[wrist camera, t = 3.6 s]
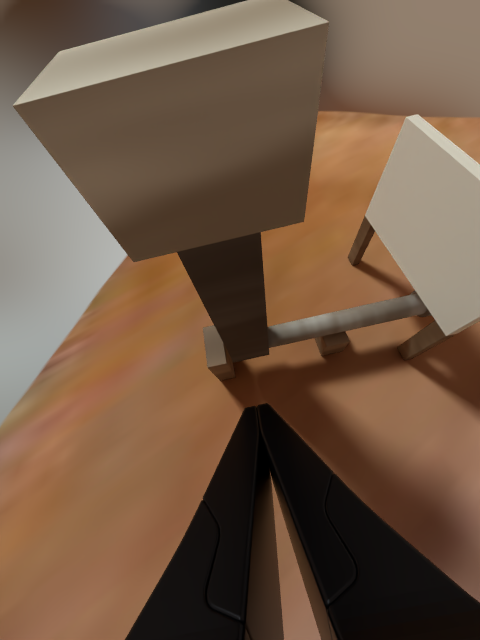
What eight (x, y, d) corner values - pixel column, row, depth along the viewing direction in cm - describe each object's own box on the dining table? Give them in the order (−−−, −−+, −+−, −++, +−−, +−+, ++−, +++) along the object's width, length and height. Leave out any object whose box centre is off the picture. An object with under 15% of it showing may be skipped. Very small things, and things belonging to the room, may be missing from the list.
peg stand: (412, 358, 16) (456, 333, 12) (222, 399, 17) (207, 388, 13) (354, 255, 21) (372, 214, 17) (207, 289, 22) (192, 256, 18)
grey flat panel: (458, 333, 12) (597, 256, 7) (445, 336, 12) (574, 261, 7) (374, 213, 17) (419, 113, 12) (365, 215, 17) (406, 117, 12)
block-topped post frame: (433, 327, 15) (1121, -188, 3) (220, 374, 15) (11, 105, 3) (408, 291, 17) (785, -146, 4) (214, 335, 17) (59, 51, 5)
